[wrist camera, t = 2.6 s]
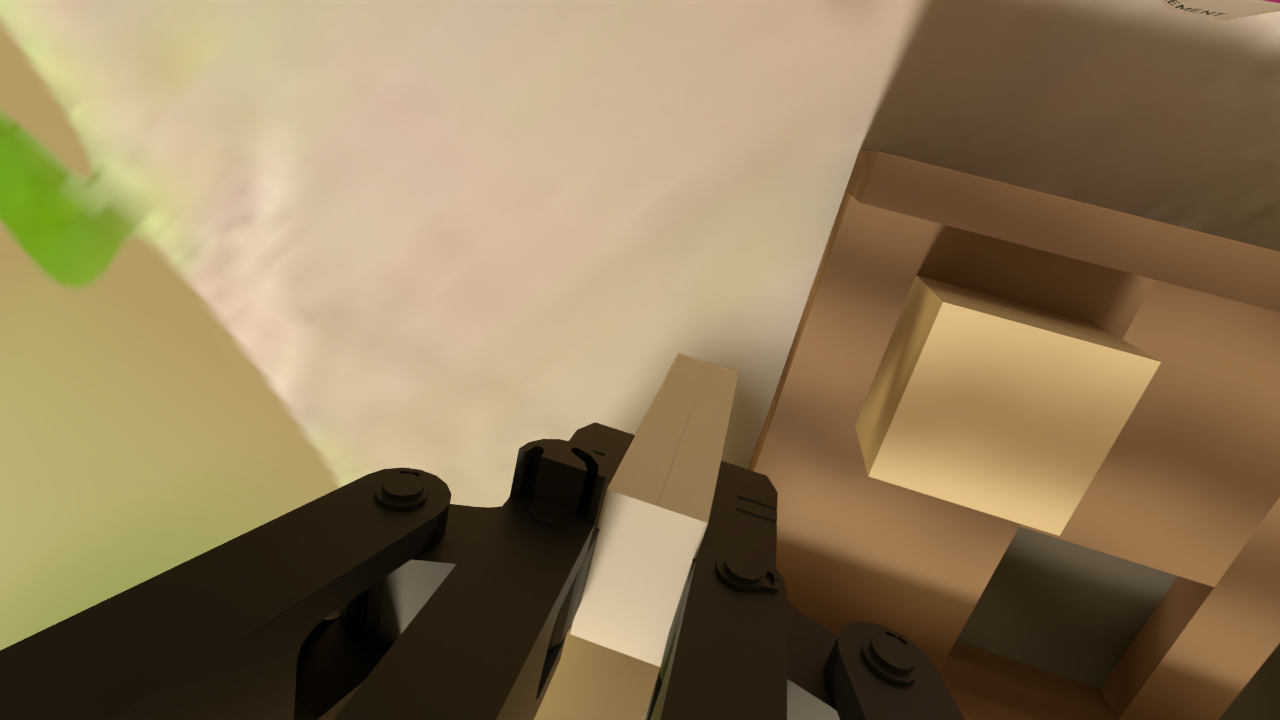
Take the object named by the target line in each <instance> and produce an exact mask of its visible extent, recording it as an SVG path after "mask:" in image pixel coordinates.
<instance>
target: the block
mask: <svg viewBox="0 0 1280 720" xmlns="http://www.w3.org/2000/svg"><path fill="white" fill-rule="evenodd" d="M1160 363H1161V361H1159V360H1157V359H1155V358H1154V357H1152V356H1150V355H1148V354H1147V353H1145V352H1143V351H1141V350H1140V349H1138V348H1136V347H1135V346H1133V345H1131V344H1129V343H1128V342H1126V341H1124V340H1122V339H1121V338H1119V337H1117V336H1115V335H1114V334H1112V333H1110V332H1109V331H1107V330H1105V329H1103V328H1102V327H1100V326H1098V325H1096V324H1094V323H1090V322H1086V321H1083V320H1079V319H1075V318H1072V317H1068V316H1064V315H1061V314H1057V313H1053V312H1050V311H1046V310H1042V309H1039V308H1035V307H1031V306H1028V305H1024V304H1020V303H1017V302H1013V301H1009V300H1006V299H1002V298H998V297H995V296H991V295H987V294H983V293H980V292H976V291H972V290H969V289H965V288H961V287H958V286H954V285H950V284H947V283H943V282H939V281H936V280H932V279H928V278H925V277H921V276H917V275H916V277H915V279H914V282H913V284H912V287H911V289H910V292H909V294H908V296H907V299H906V301H905V304H904V306H903V309H902V311H901V314H900V316H899V319H898V321H897V324H896V326H895V328H894V331H893V333H892V336H891V338H890V341H889V343H888V346H887V348H886V351H885V353H884V355H883V358H882V360H881V363H880V365H879V368H878V370H877V373H876V375H875V378H874V380H873V382H872V385H871V387H870V390H869V392H868V395H867V397H866V400H865V402H864V405H863V407H862V410H861V412H860V414H859V417H858V419H857V422H856V424H855V427H856V431H857V434H858V438H859V442H860V446H861V450H862V454H863V458H864V462H865V466H866V470H867V474H868V476H869V477H872V478H875V479H878V480H882V481H885V482H888V483H891V484H894V485H898V486H901V487H904V488H907V489H910V490H914V491H917V492H920V493H923V494H926V495H930V496H933V497H936V498H939V499H943V500H946V501H949V502H952V503H955V504H959V505H962V506H965V507H968V508H971V509H975V510H978V511H981V512H984V513H987V514H991V515H994V516H997V517H1000V518H1003V519H1007V520H1010V521H1013V522H1016V523H1019V524H1023V525H1026V526H1029V527H1032V528H1035V529H1039V530H1042V531H1045V532H1048V533H1051V534H1055V535H1058V536H1060V534H1061V533H1062V531H1063V529H1064V528H1065V526H1066V524H1067V522H1068V521H1069V519H1070V517H1071V516H1072V514H1073V512H1074V511H1075V509H1076V507H1077V505H1078V504H1079V502H1080V500H1081V499H1082V497H1083V495H1084V493H1085V492H1086V490H1087V488H1088V487H1089V485H1090V483H1091V481H1092V480H1093V478H1094V476H1095V475H1096V473H1097V471H1098V469H1099V468H1100V466H1101V464H1102V463H1103V461H1104V459H1105V458H1106V456H1107V454H1108V452H1109V451H1110V449H1111V447H1112V446H1113V444H1114V442H1115V440H1116V439H1117V437H1118V435H1119V434H1120V432H1121V430H1122V428H1123V427H1124V425H1125V423H1126V422H1127V420H1128V418H1129V416H1130V415H1131V413H1132V411H1133V410H1134V408H1135V406H1136V405H1137V403H1138V401H1139V399H1140V398H1141V396H1142V394H1143V393H1144V391H1145V389H1146V387H1147V386H1148V384H1149V382H1150V381H1151V379H1152V377H1153V375H1154V374H1155V372H1156V370H1157V369H1158V367H1159V365H1160Z"/></svg>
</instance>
